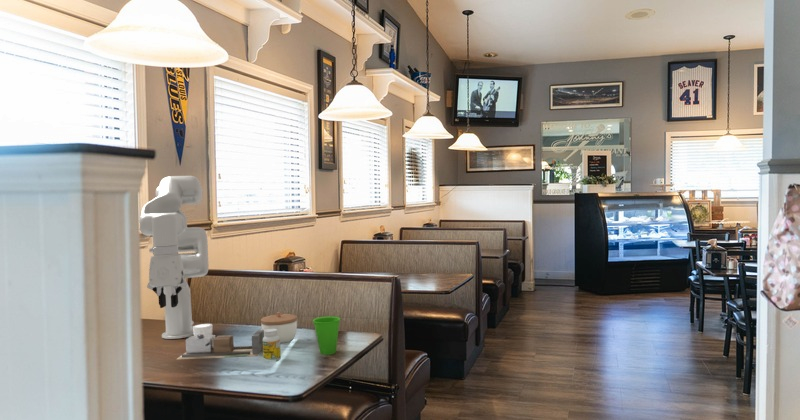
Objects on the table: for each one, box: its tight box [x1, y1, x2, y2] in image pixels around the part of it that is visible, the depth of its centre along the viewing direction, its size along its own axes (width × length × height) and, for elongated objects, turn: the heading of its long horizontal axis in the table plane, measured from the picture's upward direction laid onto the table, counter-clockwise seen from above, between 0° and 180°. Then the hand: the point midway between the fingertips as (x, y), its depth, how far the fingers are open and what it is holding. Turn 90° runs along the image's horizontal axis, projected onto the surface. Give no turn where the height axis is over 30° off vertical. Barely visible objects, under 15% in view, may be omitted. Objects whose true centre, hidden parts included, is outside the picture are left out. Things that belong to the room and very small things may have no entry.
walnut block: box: [213, 334, 235, 353], centre depth 184 cm, size 5×5×5 cm
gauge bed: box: [176, 329, 264, 360], centre depth 184 cm, size 12×26×7 cm, turn 90°
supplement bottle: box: [262, 329, 282, 362], centre depth 177 cm, size 5×5×10 cm
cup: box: [312, 315, 341, 356], centre depth 183 cm, size 9×9×11 cm
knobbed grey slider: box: [185, 334, 216, 354], centre depth 183 cm, size 7×8×6 cm
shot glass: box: [192, 323, 213, 336], centre depth 200 cm, size 7×7×7 cm
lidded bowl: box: [260, 311, 298, 344], centre depth 198 cm, size 13×13×11 cm
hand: (168, 306), depth 184 cm, fingers open, 3 cm apart
